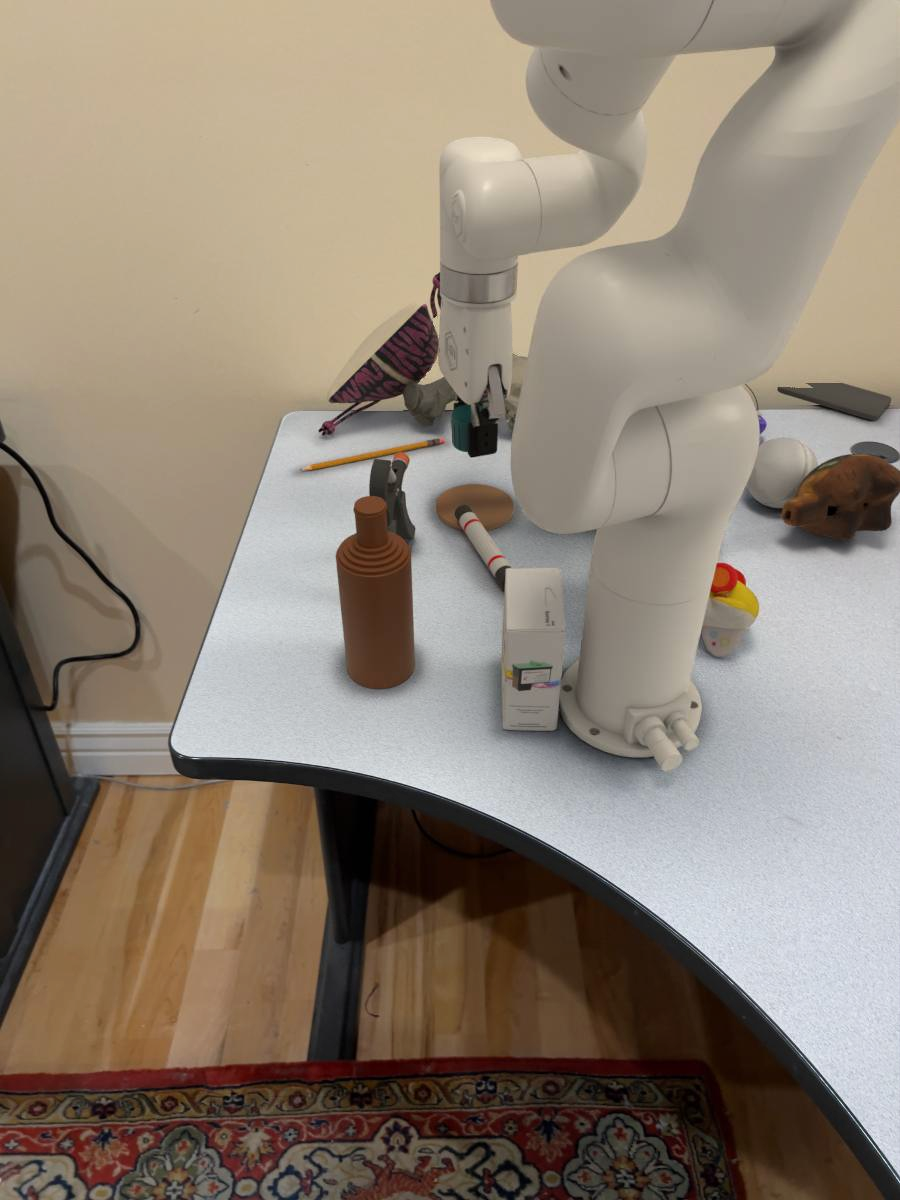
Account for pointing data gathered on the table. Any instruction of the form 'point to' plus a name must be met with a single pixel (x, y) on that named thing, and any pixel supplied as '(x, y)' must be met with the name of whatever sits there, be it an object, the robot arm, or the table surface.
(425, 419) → the bone
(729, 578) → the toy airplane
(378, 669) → the bottle
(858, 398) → the cell phone
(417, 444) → the pencil
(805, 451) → the bath bomb
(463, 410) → the cap
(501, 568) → the marker
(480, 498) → the coaster
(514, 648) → the ink box
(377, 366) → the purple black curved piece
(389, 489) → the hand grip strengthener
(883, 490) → the decorative turtle
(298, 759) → the table surface
